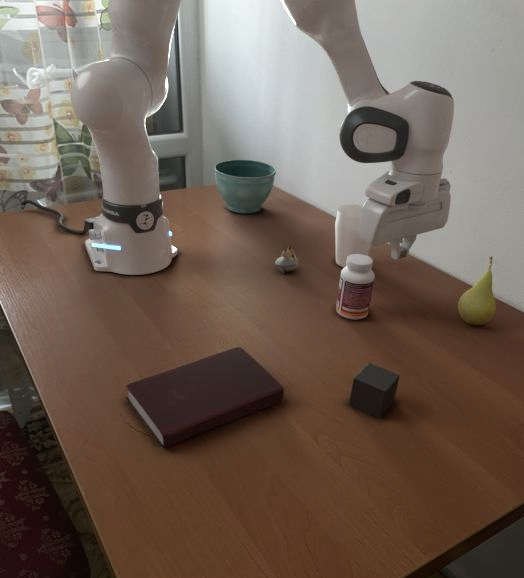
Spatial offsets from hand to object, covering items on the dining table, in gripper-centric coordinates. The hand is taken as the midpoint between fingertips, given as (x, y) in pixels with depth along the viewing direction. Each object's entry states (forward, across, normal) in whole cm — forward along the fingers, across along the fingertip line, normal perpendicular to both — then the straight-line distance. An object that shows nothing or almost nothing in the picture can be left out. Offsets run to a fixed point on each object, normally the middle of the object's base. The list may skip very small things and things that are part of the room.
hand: (399, 257), depth 104 cm
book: (+9, +47, +9) cm, 49 cm away
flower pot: (+9, -3, -58) cm, 59 cm away
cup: (+9, -5, -17) cm, 20 cm away
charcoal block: (+9, +26, +22) cm, 35 cm away
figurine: (+9, +10, -21) cm, 25 cm away
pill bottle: (+9, +10, 0) cm, 14 cm away
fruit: (+10, -8, +14) cm, 18 cm away
